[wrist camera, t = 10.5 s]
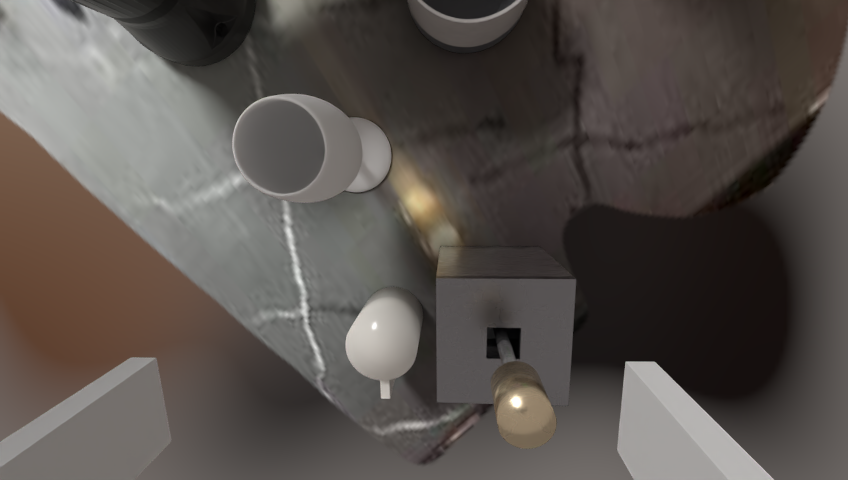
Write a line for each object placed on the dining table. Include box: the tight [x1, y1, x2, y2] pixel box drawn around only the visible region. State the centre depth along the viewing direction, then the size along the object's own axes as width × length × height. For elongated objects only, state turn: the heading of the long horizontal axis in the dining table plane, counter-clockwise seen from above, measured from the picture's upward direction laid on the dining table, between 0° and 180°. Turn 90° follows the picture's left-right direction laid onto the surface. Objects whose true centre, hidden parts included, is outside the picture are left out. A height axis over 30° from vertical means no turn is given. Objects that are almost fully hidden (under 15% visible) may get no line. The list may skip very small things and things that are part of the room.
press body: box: [436, 246, 576, 406], centre depth 42 cm, size 12×12×14 cm
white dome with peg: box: [346, 287, 423, 399], centre depth 46 cm, size 8×11×9 cm
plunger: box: [487, 327, 557, 449], centre depth 35 cm, size 9×9×23 cm
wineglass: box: [232, 94, 391, 203], centre depth 36 cm, size 9×9×21 cm
